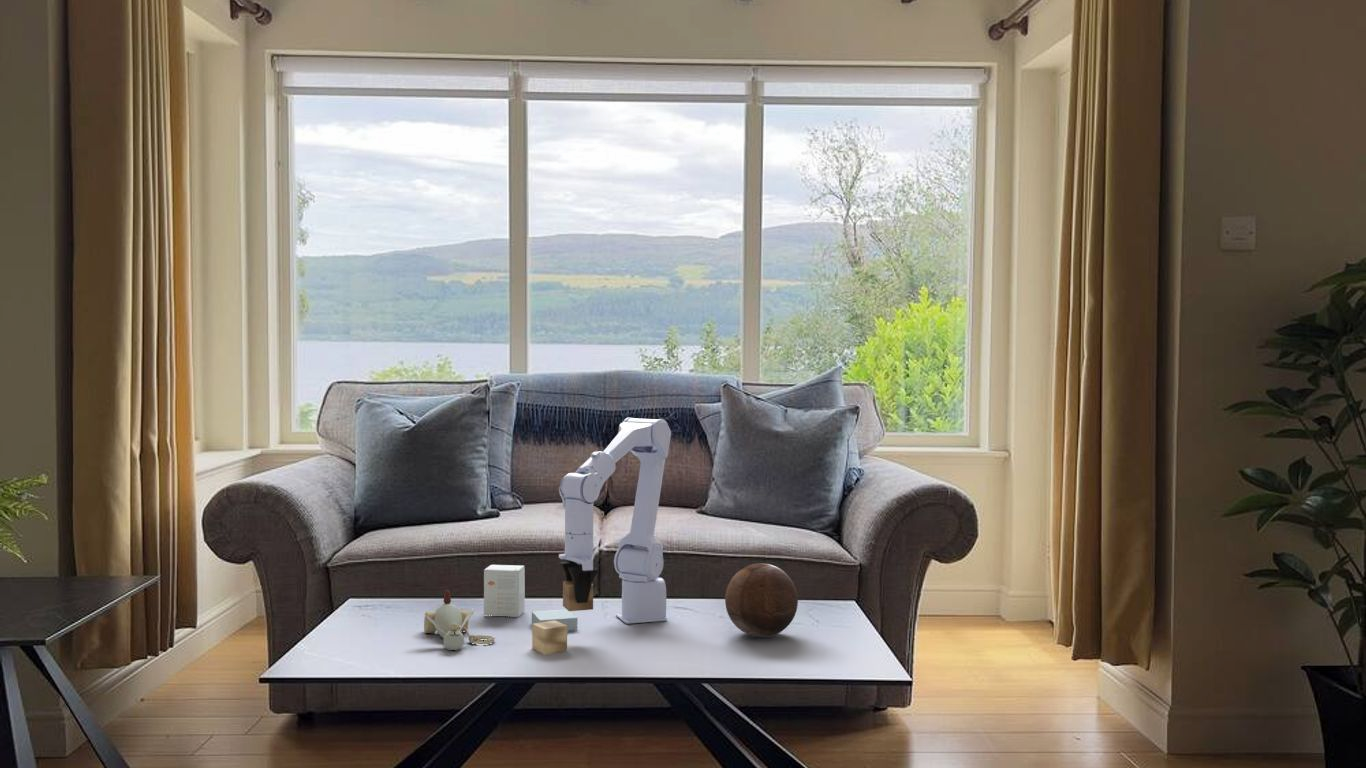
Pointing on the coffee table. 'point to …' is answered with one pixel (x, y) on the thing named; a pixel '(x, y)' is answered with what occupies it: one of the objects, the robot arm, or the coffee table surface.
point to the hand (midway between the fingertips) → (578, 599)
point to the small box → (504, 590)
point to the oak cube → (549, 637)
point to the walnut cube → (570, 599)
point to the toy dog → (452, 625)
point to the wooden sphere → (761, 600)
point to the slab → (556, 617)
